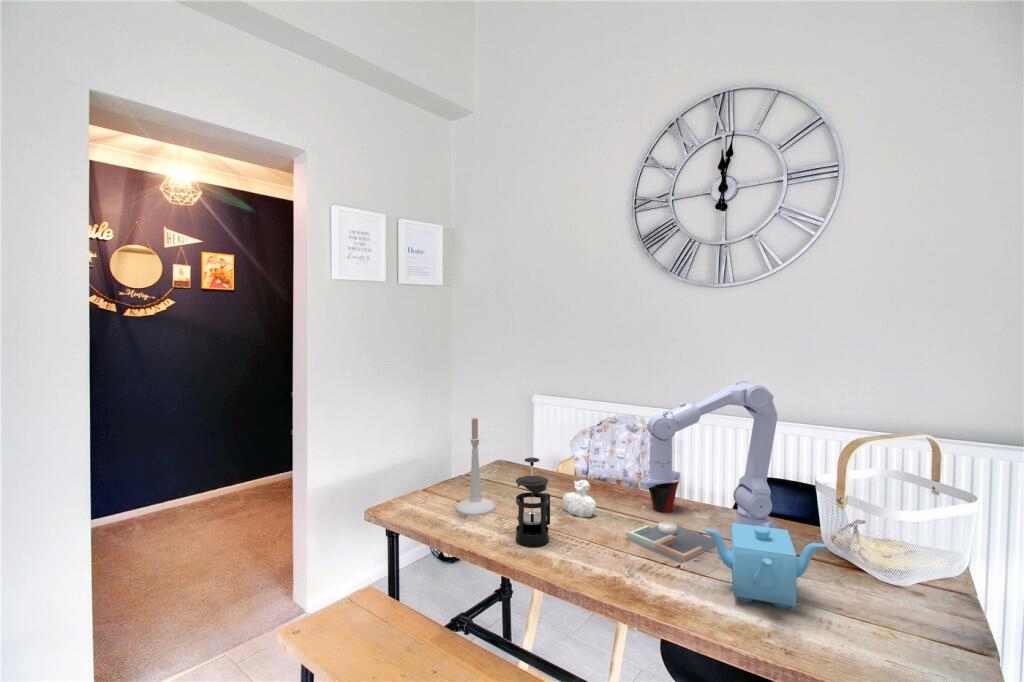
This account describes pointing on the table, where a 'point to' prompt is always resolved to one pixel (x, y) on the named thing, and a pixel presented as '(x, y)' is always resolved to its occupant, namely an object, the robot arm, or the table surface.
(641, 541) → the mint green c bracket
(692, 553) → the pink u-shaped rail
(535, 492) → the french press
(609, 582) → the table surface
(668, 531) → the white dome
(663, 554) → the mat
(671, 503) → the plastic cup
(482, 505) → the candlestick
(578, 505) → the white sheep figurine
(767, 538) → the teakettle
